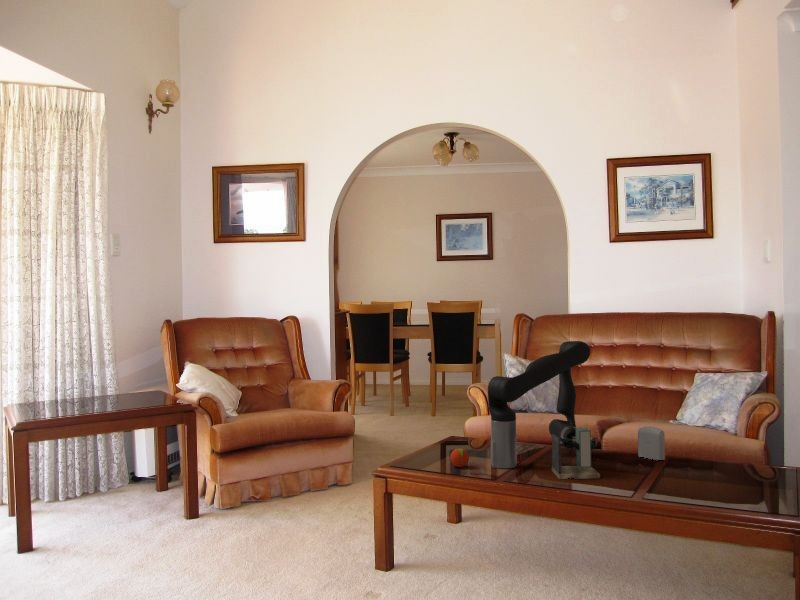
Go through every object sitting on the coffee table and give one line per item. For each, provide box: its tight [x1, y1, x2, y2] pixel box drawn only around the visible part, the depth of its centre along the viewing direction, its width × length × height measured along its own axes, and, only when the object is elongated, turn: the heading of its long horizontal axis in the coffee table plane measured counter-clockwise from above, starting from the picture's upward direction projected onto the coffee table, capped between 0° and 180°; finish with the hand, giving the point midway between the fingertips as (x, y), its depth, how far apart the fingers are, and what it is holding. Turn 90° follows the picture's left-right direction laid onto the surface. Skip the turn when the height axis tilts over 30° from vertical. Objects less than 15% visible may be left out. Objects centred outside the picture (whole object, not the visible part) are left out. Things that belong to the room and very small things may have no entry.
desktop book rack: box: [551, 434, 601, 480], centre depth 245 cm, size 14×12×14 cm
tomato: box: [450, 447, 470, 468], centre depth 258 cm, size 8×7×7 cm
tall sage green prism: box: [575, 427, 592, 468], centre depth 245 cm, size 4×5×13 cm
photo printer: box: [637, 425, 666, 461], centre depth 267 cm, size 10×4×12 cm, turn 39°
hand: (585, 447), depth 243 cm, fingers closed on tall sage green prism, 4 cm apart
